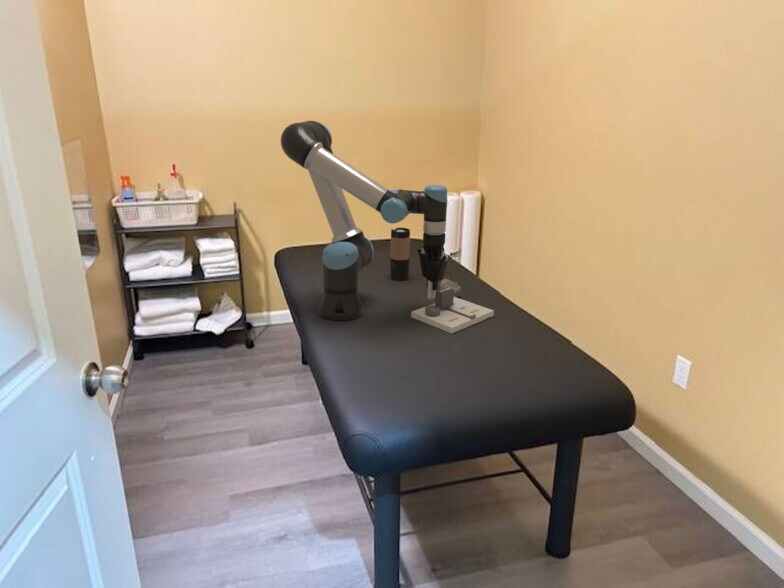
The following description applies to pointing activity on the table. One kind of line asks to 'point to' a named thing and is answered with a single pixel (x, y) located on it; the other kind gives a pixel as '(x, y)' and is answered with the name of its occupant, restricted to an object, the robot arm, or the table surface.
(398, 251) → the travel mug
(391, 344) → the table surface
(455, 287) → the stone
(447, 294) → the fader
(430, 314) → the console
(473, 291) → the table surface
